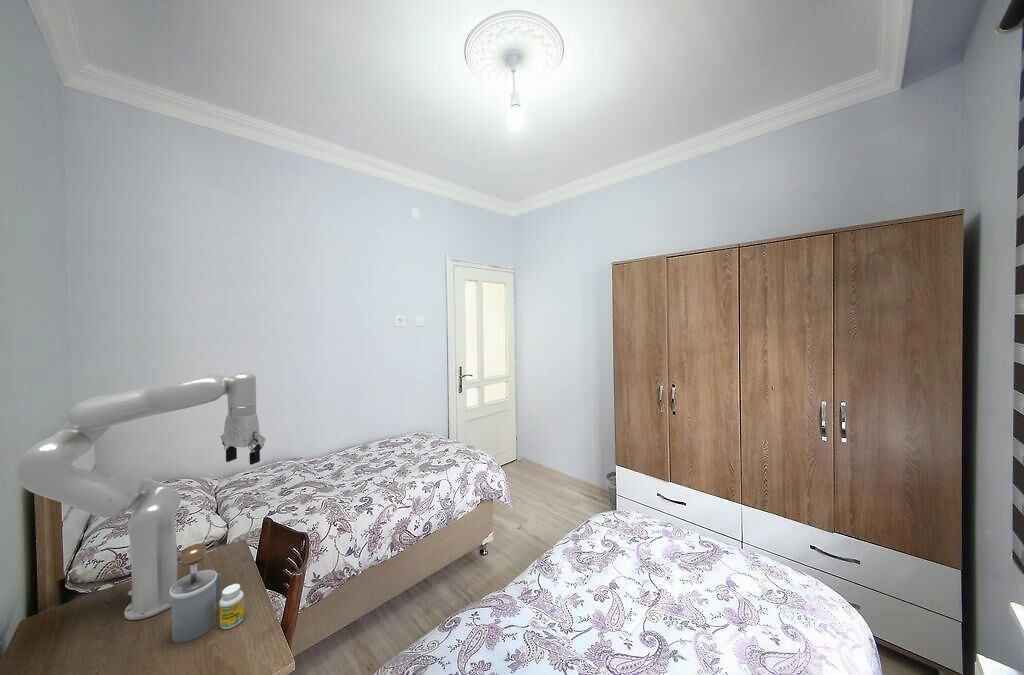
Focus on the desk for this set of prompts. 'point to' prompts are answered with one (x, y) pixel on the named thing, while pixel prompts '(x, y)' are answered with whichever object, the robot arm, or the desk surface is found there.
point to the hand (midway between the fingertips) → (243, 461)
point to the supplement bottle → (231, 606)
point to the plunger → (193, 558)
